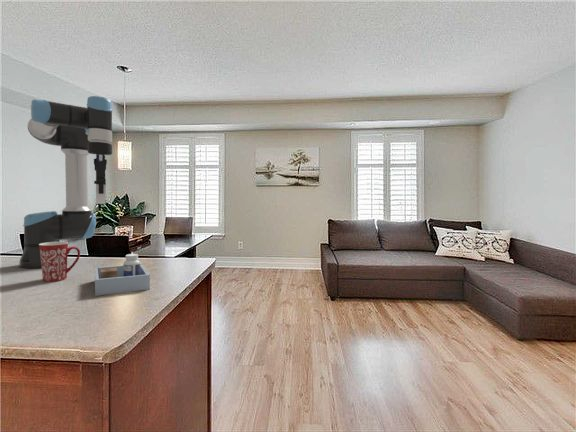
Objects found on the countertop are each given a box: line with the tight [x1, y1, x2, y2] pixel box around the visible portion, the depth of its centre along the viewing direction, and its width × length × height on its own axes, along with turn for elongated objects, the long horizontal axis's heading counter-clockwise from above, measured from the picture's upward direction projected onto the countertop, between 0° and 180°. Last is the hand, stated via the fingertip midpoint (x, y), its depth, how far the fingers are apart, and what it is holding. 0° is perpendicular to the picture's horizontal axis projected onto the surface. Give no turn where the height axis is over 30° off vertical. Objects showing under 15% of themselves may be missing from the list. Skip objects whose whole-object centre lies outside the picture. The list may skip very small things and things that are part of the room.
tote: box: [94, 263, 151, 296], centre depth 118 cm, size 20×16×5 cm
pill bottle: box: [122, 253, 141, 277], centre depth 119 cm, size 5×5×10 cm
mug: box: [39, 241, 81, 283], centre depth 124 cm, size 13×9×14 cm
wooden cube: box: [101, 268, 118, 279], centre depth 116 cm, size 5×5×5 cm
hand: (100, 203), depth 118 cm, fingers open, 13 cm apart
